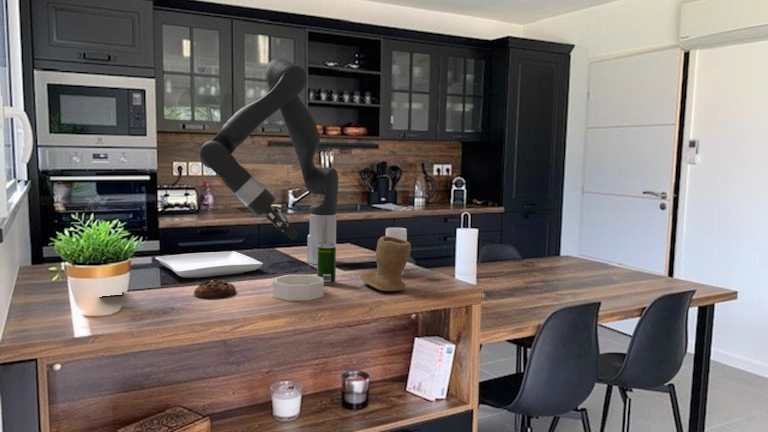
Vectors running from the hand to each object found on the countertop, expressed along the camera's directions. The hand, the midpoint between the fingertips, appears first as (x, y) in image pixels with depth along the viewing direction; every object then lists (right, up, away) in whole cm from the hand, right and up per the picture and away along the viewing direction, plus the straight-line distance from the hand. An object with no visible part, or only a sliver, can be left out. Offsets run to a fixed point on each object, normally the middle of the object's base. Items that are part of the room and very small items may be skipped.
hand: (295, 236), depth 168 cm
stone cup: (+27, -15, -1) cm, 31 cm away
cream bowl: (+2, -15, -11) cm, 19 cm away
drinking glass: (+29, -13, +16) cm, 36 cm away
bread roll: (-20, -16, -12) cm, 28 cm away
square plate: (-31, -12, +19) cm, 39 cm away
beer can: (+9, -14, +3) cm, 17 cm away
